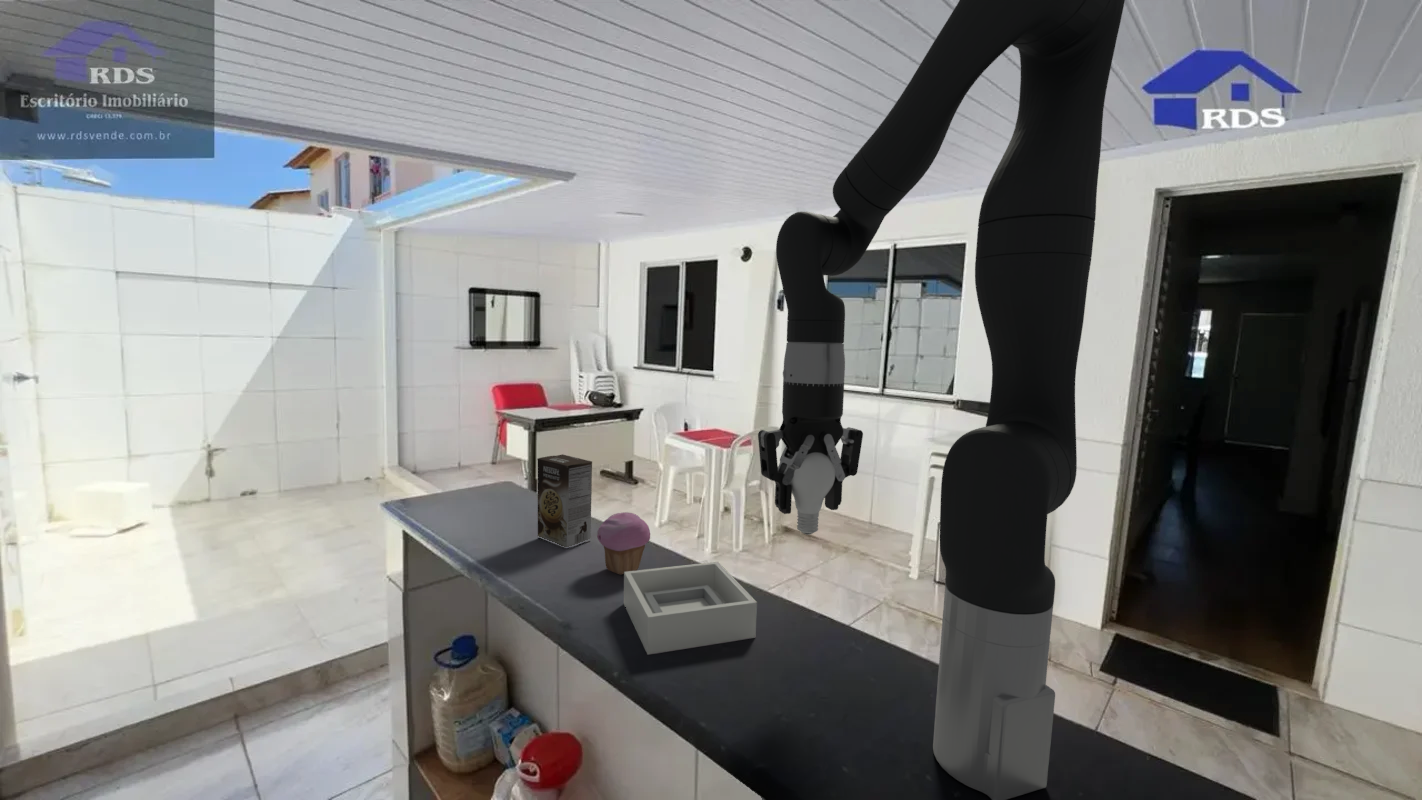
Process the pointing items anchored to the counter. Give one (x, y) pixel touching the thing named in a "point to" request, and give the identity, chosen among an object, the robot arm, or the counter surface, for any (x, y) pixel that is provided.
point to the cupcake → (623, 541)
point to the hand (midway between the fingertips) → (808, 509)
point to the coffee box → (564, 499)
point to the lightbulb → (811, 489)
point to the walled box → (688, 607)
